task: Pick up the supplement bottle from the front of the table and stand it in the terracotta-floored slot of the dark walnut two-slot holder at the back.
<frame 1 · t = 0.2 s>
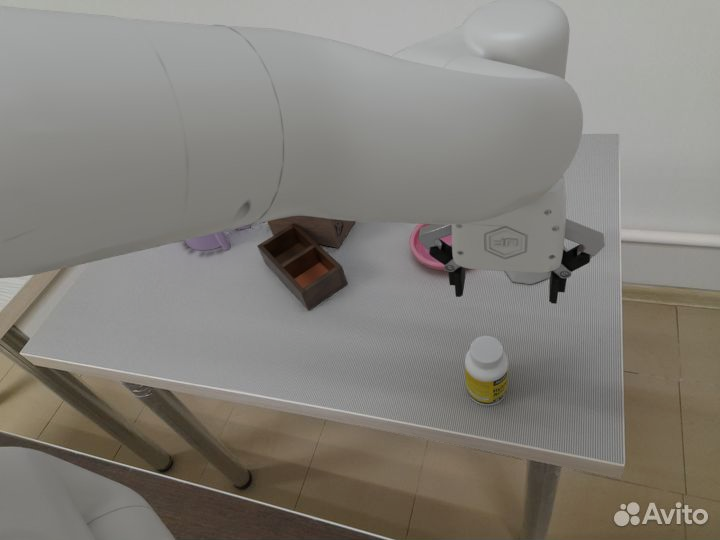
hand: (505, 289, 56), 20 cm above the table, tool pointing down, fingers open, 9 cm apart
flask: (526, 269, 84), on the table
tissue box cover: (335, 197, 105), on the table, touching holder
clip: (205, 225, 107), on the table
saucer: (447, 251, 90), on the table
supplement bottle: (486, 389, 71), on the table
holder: (304, 273, 92), on the table
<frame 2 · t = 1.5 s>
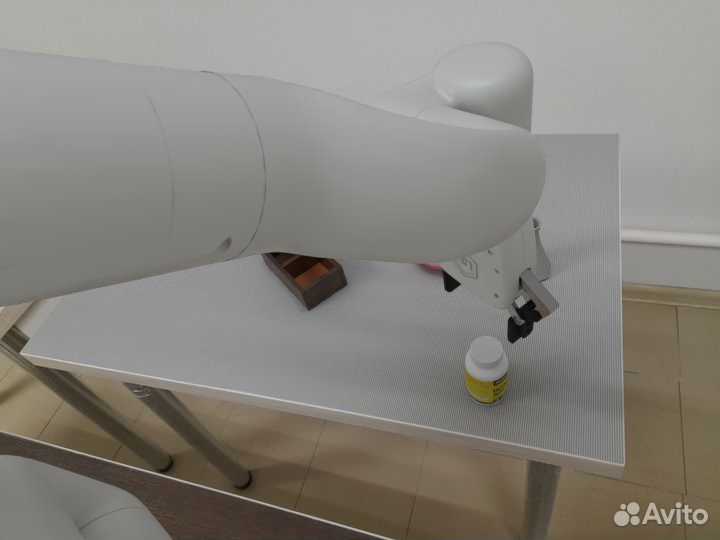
hand: (486, 308, 58), 17 cm above the table, tool pointing down, fingers open, 9 cm apart
nothing on the table moved.
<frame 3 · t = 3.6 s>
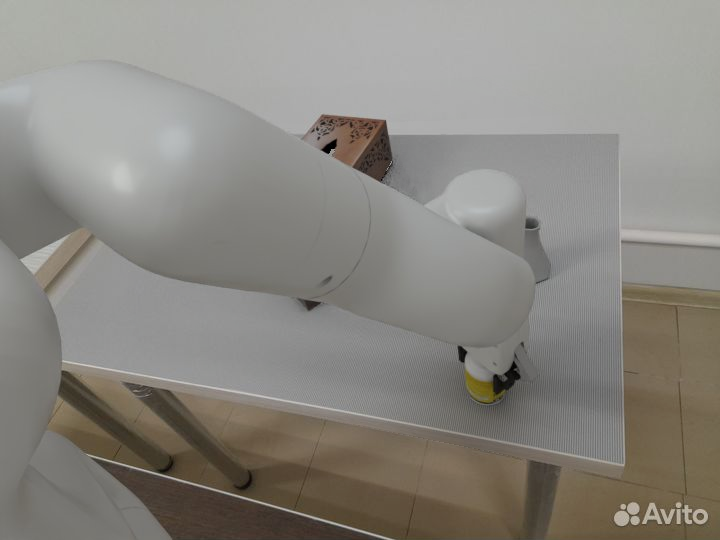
hand: (486, 369, 67), 5 cm above the table, tool pointing down, fingers closed on supplement bottle, 5 cm apart
supplement bottle: (486, 389, 71), on the table, touching gripper
everything else where it was.
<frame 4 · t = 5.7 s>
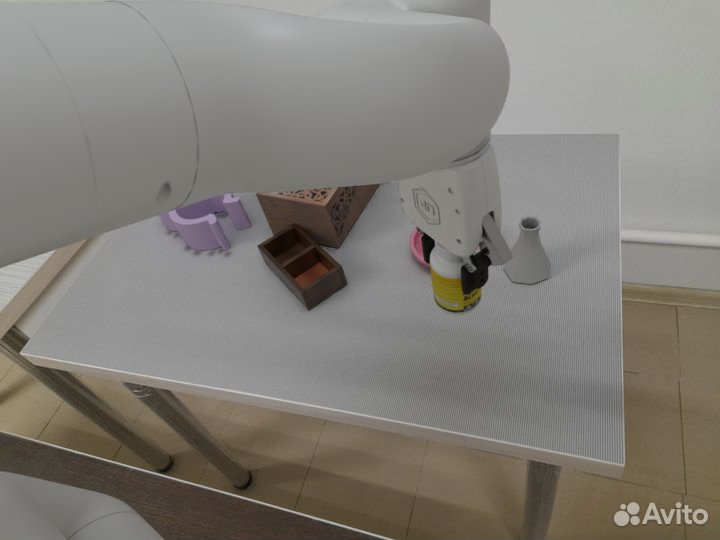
hand: (455, 270, 57), 22 cm above the table, tool pointing down, fingers closed on supplement bottle, 5 cm apart
supplement bottle: (458, 299, 61), point 17 cm above the table, touching gripper
everything else where it was.
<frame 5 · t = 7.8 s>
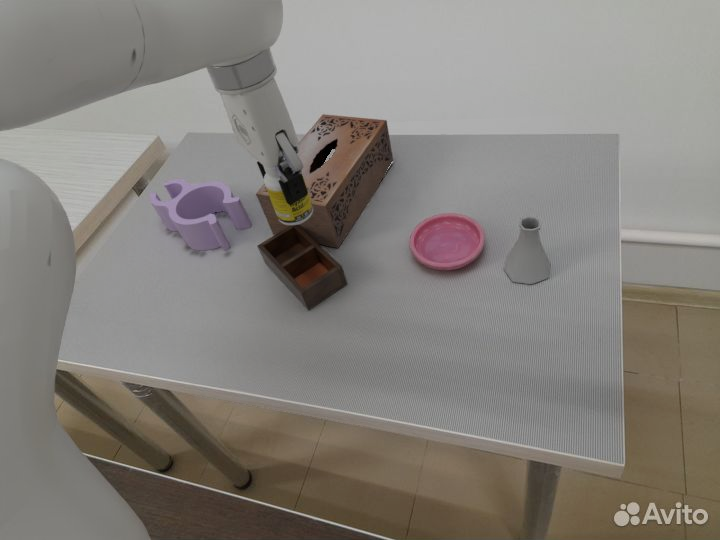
hand: (286, 188, 73), 22 cm above the table, tool pointing down, fingers closed on supplement bottle, 5 cm apart
supplement bottle: (296, 215, 76), point 17 cm above the table, touching gripper
everything else where it was.
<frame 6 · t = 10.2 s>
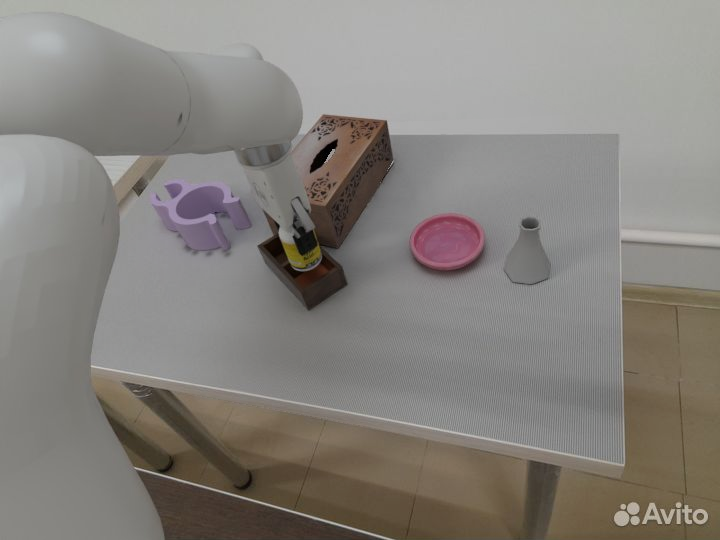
hand: (298, 239, 82), 11 cm above the table, tool pointing down, fingers closed on supplement bottle, 5 cm apart
supplement bottle: (307, 261, 86), point 6 cm above the table, touching gripper
everything else where it was.
when the fingers open (6 cm above the table, at t = 12.0 s): supplement bottle stays where it is, resting on holder.
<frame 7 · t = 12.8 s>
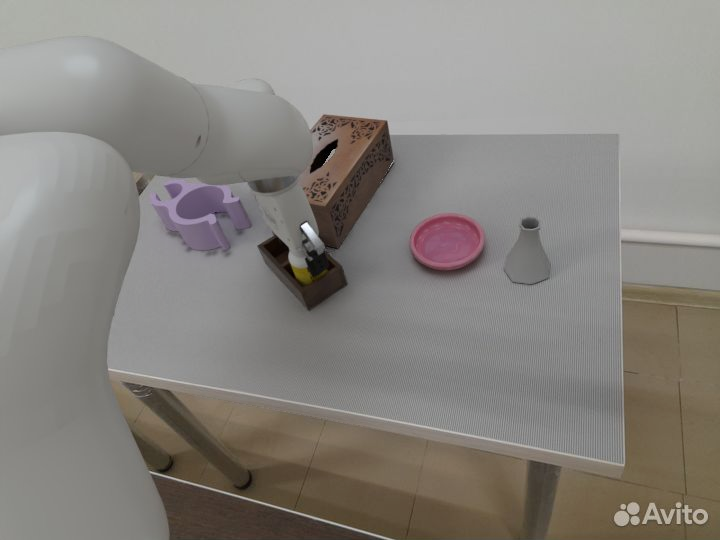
hand: (304, 255, 85), 7 cm above the table, tool pointing down, fingers open, 9 cm apart
supplement bottle: (315, 282, 89), point 1 cm above the table, touching holder
everything else where it was.
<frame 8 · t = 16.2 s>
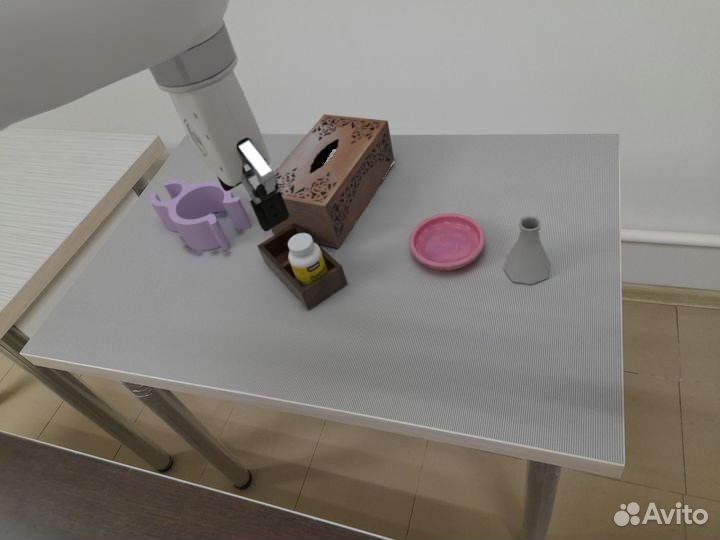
hand: (255, 203, 58), 30 cm above the table, tool pointing down, fingers open, 9 cm apart
nothing on the table moved.
at the end: supplement bottle 0.0 cm from the target spot in the holder, point 0.6 cm above the holder's base; supplement bottle tilted 0°; the gripper is holding nothing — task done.
